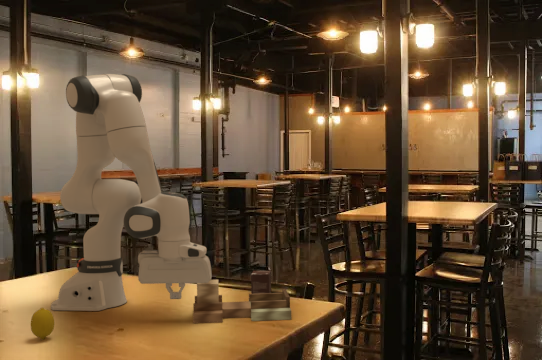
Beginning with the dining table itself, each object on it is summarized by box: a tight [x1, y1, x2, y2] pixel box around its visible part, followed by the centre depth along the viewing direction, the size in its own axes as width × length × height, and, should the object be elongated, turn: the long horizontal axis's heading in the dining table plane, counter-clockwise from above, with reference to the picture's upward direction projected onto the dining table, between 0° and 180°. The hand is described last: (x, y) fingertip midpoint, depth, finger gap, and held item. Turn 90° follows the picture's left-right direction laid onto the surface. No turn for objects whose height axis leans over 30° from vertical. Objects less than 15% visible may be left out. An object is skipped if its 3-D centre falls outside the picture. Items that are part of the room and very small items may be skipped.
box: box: [250, 270, 272, 294], centre depth 188 cm, size 6×6×7 cm
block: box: [196, 279, 220, 303], centre depth 164 cm, size 6×6×7 cm
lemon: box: [30, 307, 55, 340], centre depth 143 cm, size 6×6×8 cm
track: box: [192, 288, 292, 324], centre depth 165 cm, size 27×16×6 cm, turn 95°
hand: (175, 298), depth 160 cm, fingers closed
